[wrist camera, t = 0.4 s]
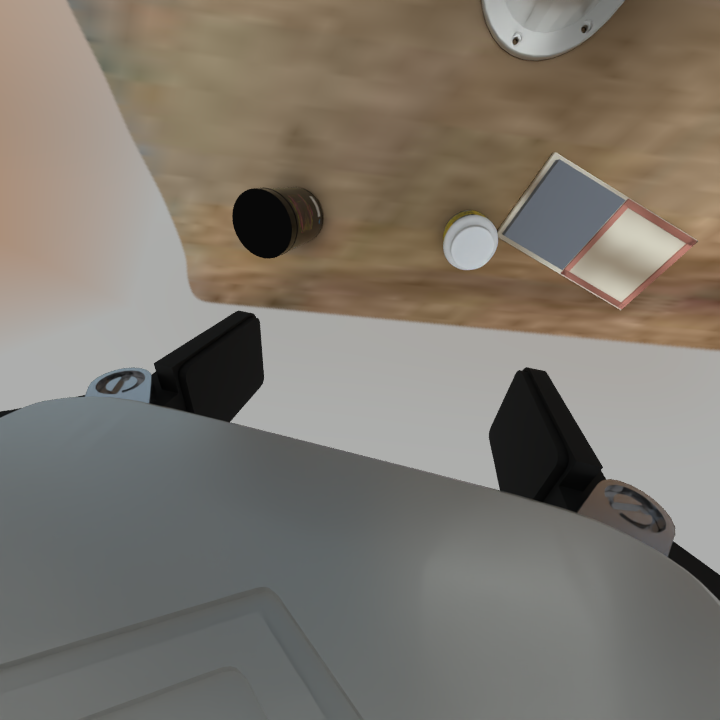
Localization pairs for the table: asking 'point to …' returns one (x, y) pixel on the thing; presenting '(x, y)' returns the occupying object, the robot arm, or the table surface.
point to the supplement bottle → (469, 240)
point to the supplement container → (276, 219)
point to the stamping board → (616, 247)
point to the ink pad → (562, 214)
